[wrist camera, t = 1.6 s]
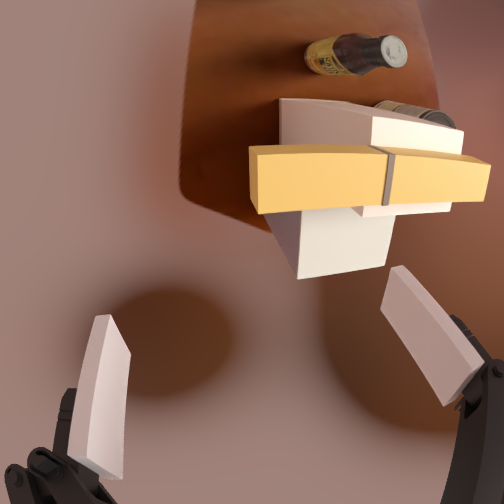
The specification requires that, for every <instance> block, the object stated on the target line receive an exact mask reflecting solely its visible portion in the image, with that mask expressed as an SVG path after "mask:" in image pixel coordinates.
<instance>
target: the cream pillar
mask: <svg viewBox="0 0 504 504" xmlns="http://www.w3.org/2000/svg"><path fill="white" fill-rule="evenodd" d="M463 134H464V132H463V131H460V130H457V129H454V128H451V127H448V126H444V125H441V124H438V123H435V122H431V121H428V120H424V119H420V118H417V117H413V116H409V115H405V114H401V113H396V112H392V111H387V110H383V109H378V108H373V107H368V106H362V105H357V104H351V103H349V102H344V101H332V100H317V99H292V98H279V145H299V144H331V145H365V146H368V145H374V146H383V147H397V148H409V149H419V150H429V151H437V152H445V153H453V154H460V155H461V150H462V143H463ZM451 203H452V202H435V203H410V204H389V205H388V206H382V205H371V206H355V207H351V208H352V209H353V210H354V211H355V212H356V213H358V214H359V215H360V216H361V217H362V218H363V217H376V216H389V215H402V214H416V213H432V212H447V211H450V208H451Z"/></svg>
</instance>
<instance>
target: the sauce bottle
mask: <svg viewBox="0 0 504 504" xmlns="http://www.w3.org/2000/svg"><path fill="white" fill-rule="evenodd" d="M304 60H305V63H306V65H307V66H308V67H309V68H310V69H311V70H312V71H314V72H315V73H318V74H322V75H364V74H366V73H367V72H369V71H371V70H373V69H374V68H376V67H380V66H385V67H387V68H400V67H401V66H403V65H404V64H405V62H406V60H407V50H406V47H405V45H404V44H403V42H402V41H401V40H400V39H399V38H397V37H395V36H392V35H387V36H381V37H379V38H372V37H370V36H368V35H366V34H362V33H351V34H343V35H339V36H335V37H330V38H326V39H322V40H318V41H316V42H314V43H312V44H310V45H309V46H308V47H307V48H306V50H305V52H304Z"/></svg>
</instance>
